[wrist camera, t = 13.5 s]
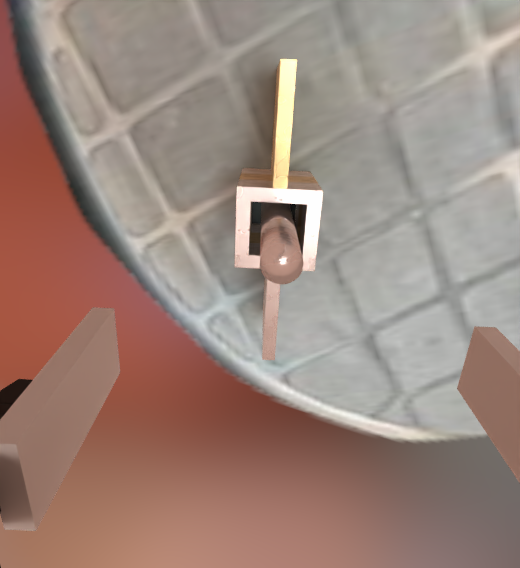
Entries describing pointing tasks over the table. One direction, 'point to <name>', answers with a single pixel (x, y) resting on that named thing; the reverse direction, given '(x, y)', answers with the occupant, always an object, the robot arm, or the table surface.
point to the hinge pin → (279, 244)
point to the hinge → (277, 189)
